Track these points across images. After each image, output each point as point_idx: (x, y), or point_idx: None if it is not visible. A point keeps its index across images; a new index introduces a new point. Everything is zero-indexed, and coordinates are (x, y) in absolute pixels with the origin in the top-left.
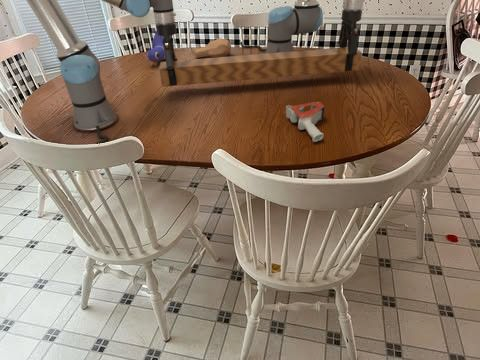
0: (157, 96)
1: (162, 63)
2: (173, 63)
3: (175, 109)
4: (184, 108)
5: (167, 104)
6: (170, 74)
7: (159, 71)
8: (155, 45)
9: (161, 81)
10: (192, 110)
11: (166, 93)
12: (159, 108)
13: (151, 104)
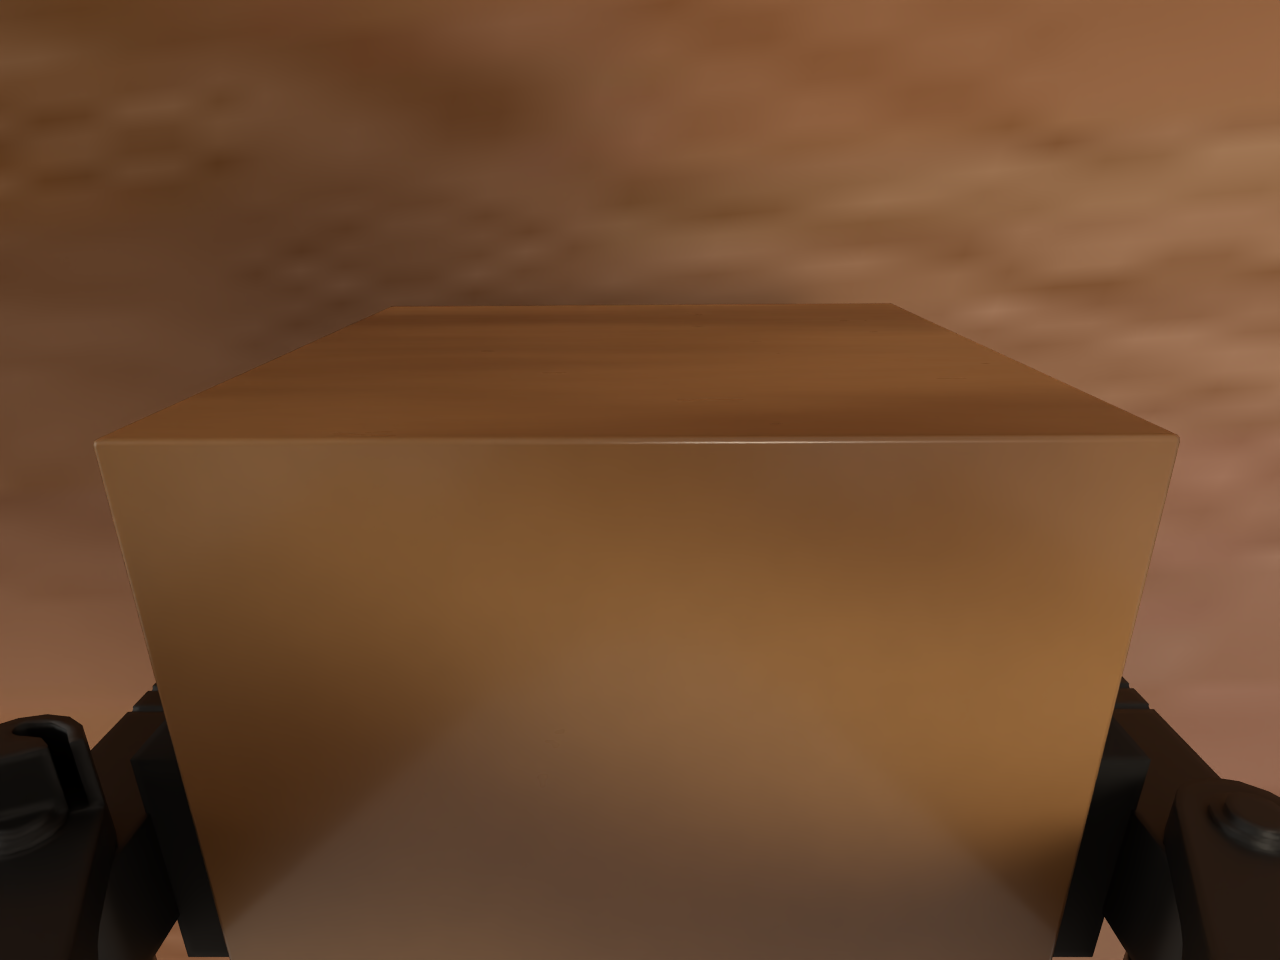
0: (608, 118)
1: (903, 545)
2: (738, 955)
3: (31, 482)
4: (74, 604)
5: (222, 344)
6: (133, 735)
7: (173, 406)
8: None
9: (338, 334)
10: (14, 703)
11: (717, 290)
12: (55, 214)
13: (230, 30)
